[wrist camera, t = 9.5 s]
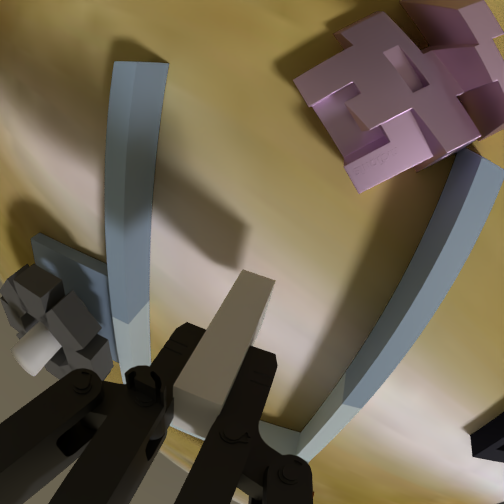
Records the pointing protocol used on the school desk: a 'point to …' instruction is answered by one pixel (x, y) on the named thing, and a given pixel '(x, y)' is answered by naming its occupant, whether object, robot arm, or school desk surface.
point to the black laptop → (489, 440)
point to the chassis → (138, 261)
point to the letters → (409, 88)
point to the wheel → (56, 321)
